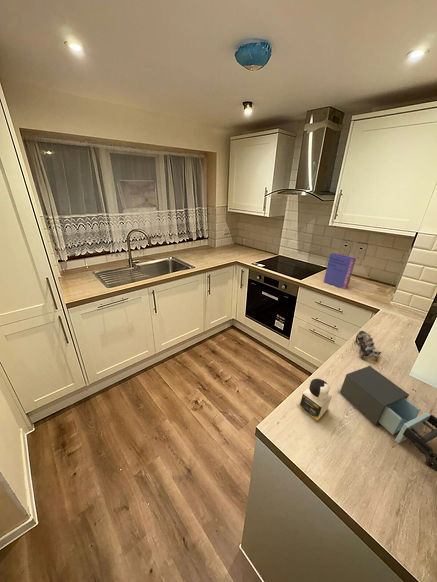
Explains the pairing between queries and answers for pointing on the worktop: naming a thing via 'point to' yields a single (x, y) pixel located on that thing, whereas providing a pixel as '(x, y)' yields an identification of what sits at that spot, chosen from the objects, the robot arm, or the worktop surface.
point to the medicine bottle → (316, 398)
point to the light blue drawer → (406, 420)
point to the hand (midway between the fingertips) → (417, 424)
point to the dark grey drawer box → (371, 392)
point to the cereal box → (339, 270)
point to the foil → (366, 345)
